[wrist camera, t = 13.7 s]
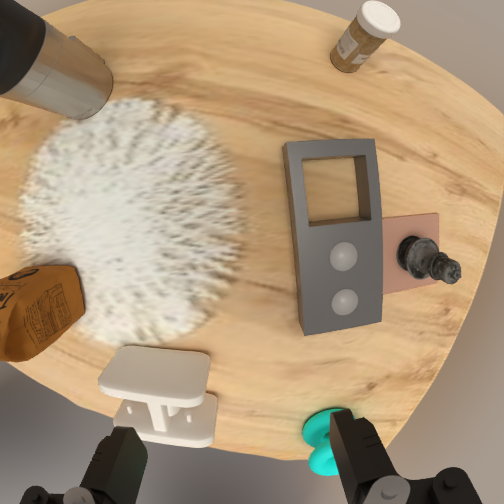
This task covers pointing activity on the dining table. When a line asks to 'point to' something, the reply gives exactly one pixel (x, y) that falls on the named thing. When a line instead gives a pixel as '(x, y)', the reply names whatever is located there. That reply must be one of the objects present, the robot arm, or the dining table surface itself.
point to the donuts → (320, 443)
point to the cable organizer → (162, 395)
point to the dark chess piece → (426, 260)
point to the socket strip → (337, 242)
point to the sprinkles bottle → (364, 35)
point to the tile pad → (392, 237)
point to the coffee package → (37, 309)
